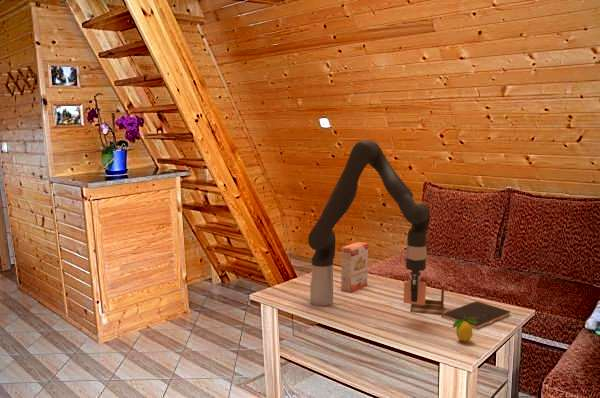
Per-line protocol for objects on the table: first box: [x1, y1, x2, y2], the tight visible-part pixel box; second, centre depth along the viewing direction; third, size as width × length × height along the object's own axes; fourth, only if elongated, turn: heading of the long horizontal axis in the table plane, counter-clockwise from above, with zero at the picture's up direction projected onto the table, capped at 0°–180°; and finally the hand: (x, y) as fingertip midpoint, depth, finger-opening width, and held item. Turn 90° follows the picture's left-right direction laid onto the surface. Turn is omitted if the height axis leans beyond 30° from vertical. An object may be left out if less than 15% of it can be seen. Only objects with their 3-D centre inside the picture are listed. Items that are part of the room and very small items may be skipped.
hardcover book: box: [440, 300, 512, 330], centre depth 203 cm, size 16×23×2 cm
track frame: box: [409, 282, 445, 316], centre depth 211 cm, size 13×12×11 cm
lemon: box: [452, 315, 477, 342], centre depth 179 cm, size 7×6×10 cm
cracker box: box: [340, 241, 369, 293], centre depth 238 cm, size 14×6×21 cm, turn 139°
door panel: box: [403, 280, 427, 305], centre depth 195 cm, size 8×3×8 cm, turn 74°
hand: (414, 299), depth 196 cm, fingers closed on door panel, 3 cm apart
